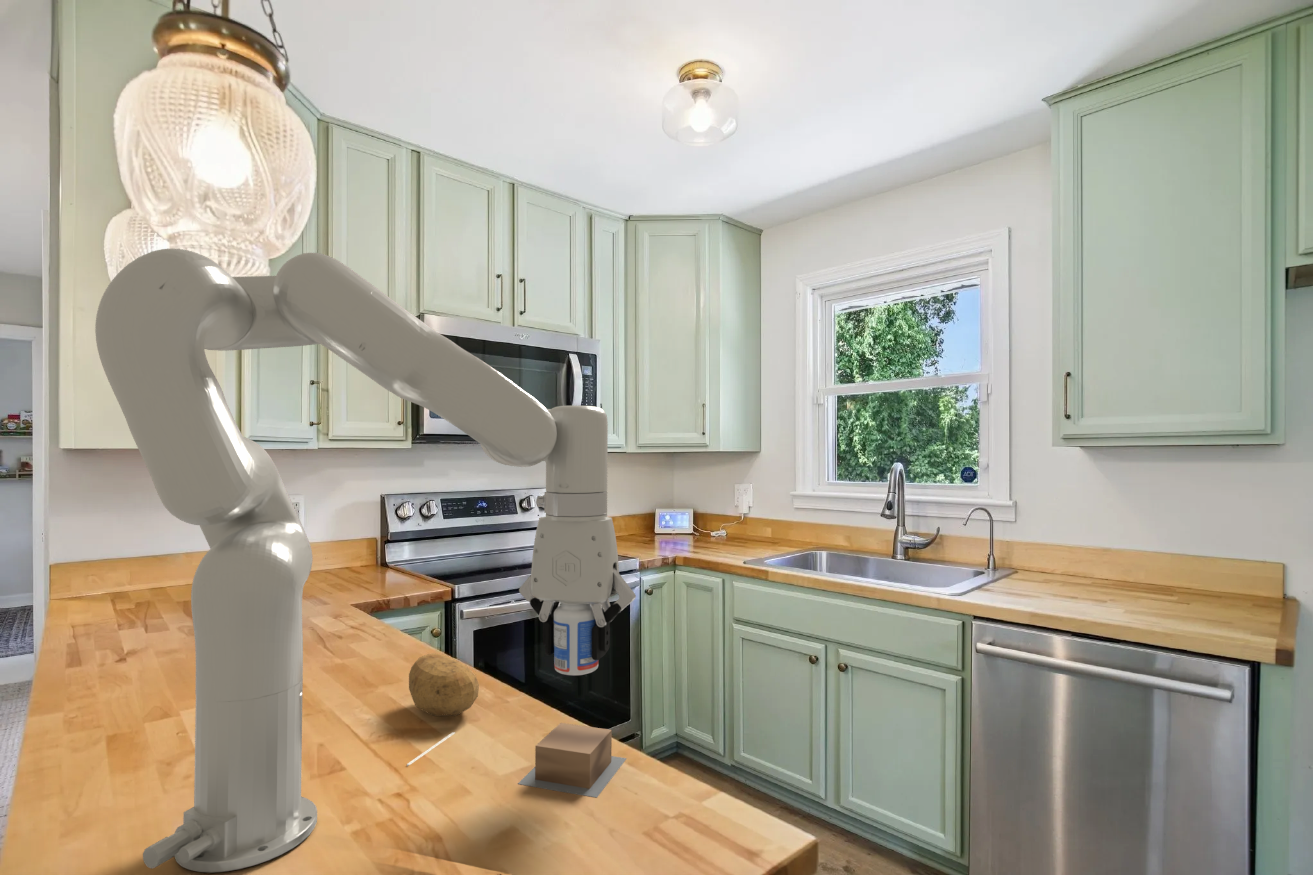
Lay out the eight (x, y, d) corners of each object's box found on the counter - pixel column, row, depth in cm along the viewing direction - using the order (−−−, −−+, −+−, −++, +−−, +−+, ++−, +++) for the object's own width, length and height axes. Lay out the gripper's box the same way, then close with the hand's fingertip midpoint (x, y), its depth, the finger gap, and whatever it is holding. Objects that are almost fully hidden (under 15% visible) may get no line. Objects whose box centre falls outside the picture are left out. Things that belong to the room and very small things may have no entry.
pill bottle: (599, 661, 85) (600, 584, 86) (597, 676, 80) (597, 593, 80) (556, 661, 85) (556, 584, 85) (550, 676, 80) (551, 594, 80)
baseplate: (596, 806, 76) (596, 797, 76) (517, 792, 79) (517, 783, 79) (626, 766, 86) (626, 758, 86) (554, 754, 89) (554, 747, 89)
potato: (432, 737, 94) (433, 679, 94) (394, 707, 104) (394, 655, 104) (496, 718, 100) (496, 664, 100) (453, 692, 111) (454, 643, 111)
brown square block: (589, 788, 78) (590, 753, 78) (535, 779, 80) (535, 745, 80) (611, 761, 85) (611, 729, 85) (560, 753, 87) (560, 722, 87)
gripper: (498, 507, 82) (498, 657, 82) (632, 511, 77) (632, 671, 77) (528, 502, 89) (527, 639, 89) (652, 505, 84) (652, 652, 84)
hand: (576, 652), depth 83 cm, fingers closed on pill bottle, 5 cm apart
